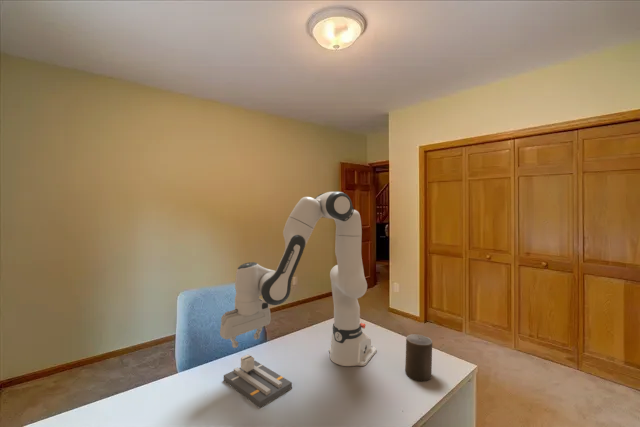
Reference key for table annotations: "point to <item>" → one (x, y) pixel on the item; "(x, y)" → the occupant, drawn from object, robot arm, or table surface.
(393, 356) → the table surface
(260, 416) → the table surface
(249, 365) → the fader knob
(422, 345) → the pillar candle
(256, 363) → the slider console
